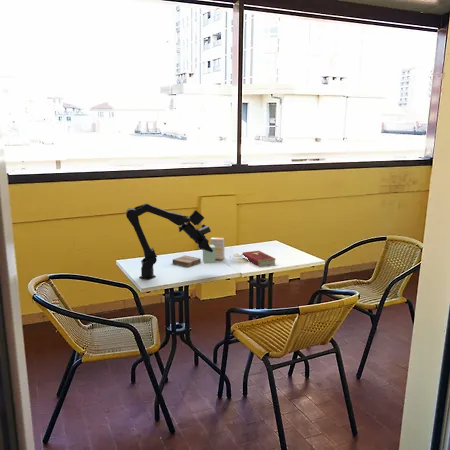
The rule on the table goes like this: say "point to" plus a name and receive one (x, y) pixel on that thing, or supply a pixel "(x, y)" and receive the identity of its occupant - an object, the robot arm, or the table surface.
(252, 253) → the hardcover book
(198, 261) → the walnut block
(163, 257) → the table surface
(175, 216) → the robot arm
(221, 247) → the supplement box
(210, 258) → the sage block
